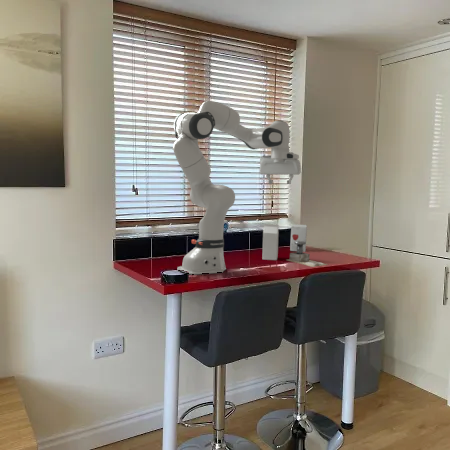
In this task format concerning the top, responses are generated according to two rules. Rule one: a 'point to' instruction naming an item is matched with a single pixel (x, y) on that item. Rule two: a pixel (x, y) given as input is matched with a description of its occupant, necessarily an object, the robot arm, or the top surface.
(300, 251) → the pin
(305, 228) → the supplement box
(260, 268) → the top surface
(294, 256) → the eye block
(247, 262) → the top surface
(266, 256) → the milk carton
